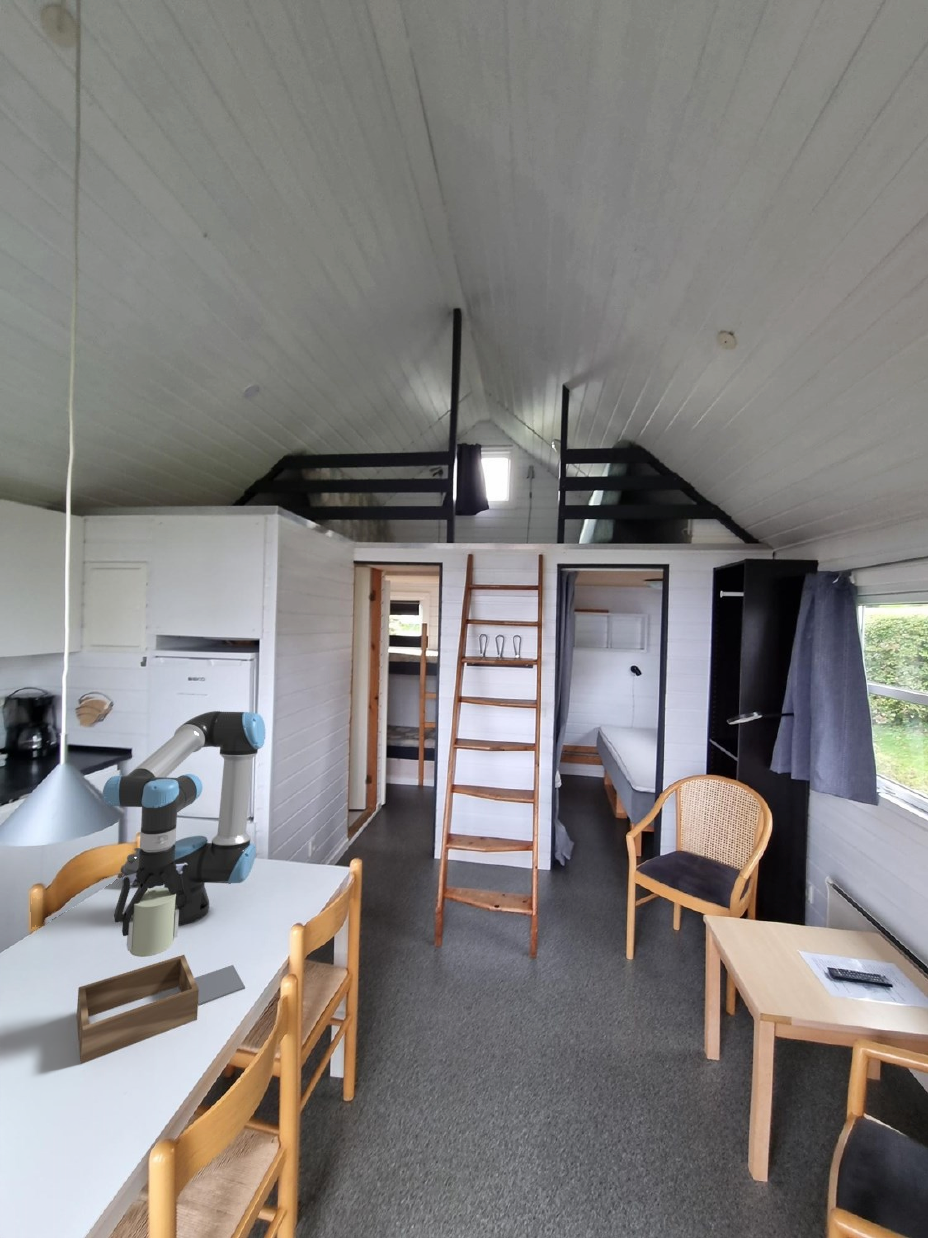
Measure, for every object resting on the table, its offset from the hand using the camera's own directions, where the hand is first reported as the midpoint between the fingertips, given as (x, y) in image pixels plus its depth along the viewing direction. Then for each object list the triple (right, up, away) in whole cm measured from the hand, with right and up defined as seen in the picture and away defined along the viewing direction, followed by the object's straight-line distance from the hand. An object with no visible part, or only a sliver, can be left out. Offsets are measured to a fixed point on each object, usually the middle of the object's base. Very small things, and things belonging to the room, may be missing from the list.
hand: (152, 941), depth 127 cm
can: (0, -1, 0) cm, 1 cm away
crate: (-2, -17, -2) cm, 17 cm away
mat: (+11, -18, +11) cm, 23 cm away
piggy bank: (-40, -17, +62) cm, 76 cm away
